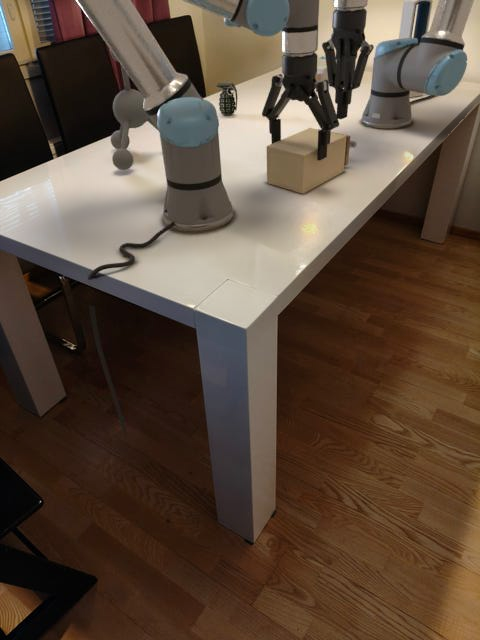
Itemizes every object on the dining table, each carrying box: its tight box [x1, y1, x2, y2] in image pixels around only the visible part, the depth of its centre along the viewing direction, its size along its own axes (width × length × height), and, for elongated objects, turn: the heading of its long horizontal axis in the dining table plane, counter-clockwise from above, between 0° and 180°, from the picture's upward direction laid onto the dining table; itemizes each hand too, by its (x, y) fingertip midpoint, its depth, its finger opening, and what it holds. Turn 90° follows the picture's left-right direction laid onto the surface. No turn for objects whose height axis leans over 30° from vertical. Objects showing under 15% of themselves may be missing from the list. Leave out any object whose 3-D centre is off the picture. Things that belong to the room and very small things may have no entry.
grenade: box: [215, 82, 238, 117], centre depth 166 cm, size 7×6×10 cm
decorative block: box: [315, 56, 337, 82], centre depth 205 cm, size 26×6×20 cm
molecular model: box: [109, 48, 158, 171], centre depth 131 cm, size 24×22×30 cm
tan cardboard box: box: [266, 127, 348, 195], centre depth 120 cm, size 17×11×9 cm, turn 137°
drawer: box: [317, 128, 358, 167], centre depth 123 cm, size 22×10×7 cm, turn 137°
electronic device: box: [398, 0, 433, 98], centre depth 170 cm, size 12×8×30 cm, turn 105°
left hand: (298, 153), depth 116 cm, fingers open, 13 cm apart
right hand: (341, 117), depth 124 cm, fingers closed
